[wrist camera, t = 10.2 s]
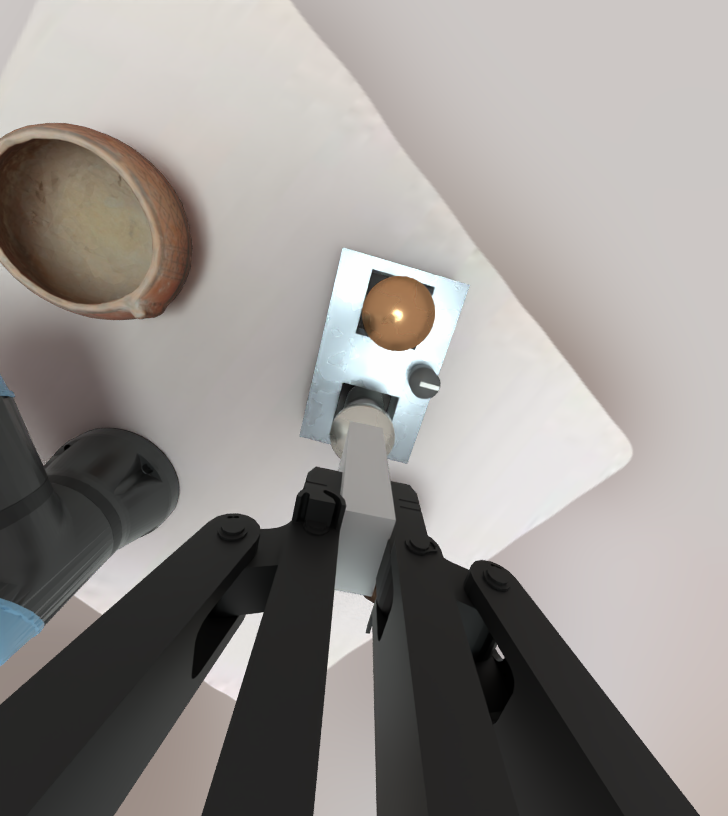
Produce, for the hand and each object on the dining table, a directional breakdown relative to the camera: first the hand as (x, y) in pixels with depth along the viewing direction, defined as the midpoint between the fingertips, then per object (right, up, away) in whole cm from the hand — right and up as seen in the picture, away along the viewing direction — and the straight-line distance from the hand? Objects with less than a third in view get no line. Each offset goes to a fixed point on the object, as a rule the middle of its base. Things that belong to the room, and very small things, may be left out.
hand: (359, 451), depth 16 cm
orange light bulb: (+3, +13, +21) cm, 25 cm away
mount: (+2, +8, +24) cm, 26 cm away
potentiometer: (+6, +5, +19) cm, 20 cm away
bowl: (-24, +20, +21) cm, 38 cm away
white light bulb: (0, +3, +25) cm, 25 cm away
